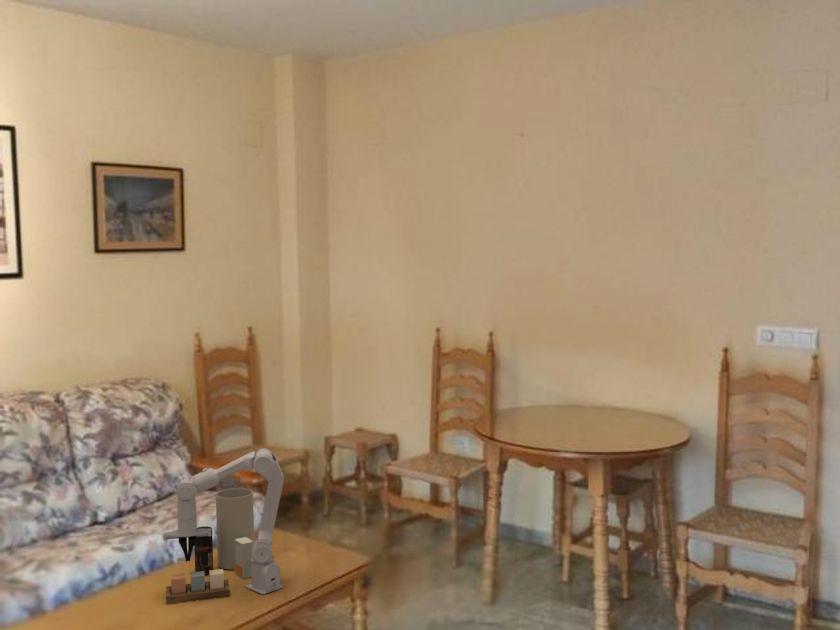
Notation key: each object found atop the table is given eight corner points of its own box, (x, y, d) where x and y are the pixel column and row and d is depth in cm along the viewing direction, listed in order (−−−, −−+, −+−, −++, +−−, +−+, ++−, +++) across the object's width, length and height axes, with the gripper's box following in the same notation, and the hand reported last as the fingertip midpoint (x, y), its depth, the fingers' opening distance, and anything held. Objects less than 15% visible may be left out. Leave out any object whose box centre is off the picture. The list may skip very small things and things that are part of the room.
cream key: (224, 587, 259) (223, 573, 258) (210, 589, 258) (209, 575, 257) (223, 583, 263) (222, 568, 262) (209, 584, 262) (209, 570, 261)
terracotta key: (185, 592, 256) (185, 577, 255) (171, 594, 254) (171, 579, 254) (185, 587, 260) (185, 573, 259) (171, 589, 258) (171, 574, 258)
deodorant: (208, 576, 274) (207, 532, 273) (191, 575, 275) (190, 531, 274) (216, 570, 280) (215, 526, 279) (200, 569, 281) (198, 525, 280)
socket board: (229, 596, 257) (229, 589, 257) (166, 604, 252) (166, 597, 252) (228, 586, 266) (228, 579, 266) (166, 593, 260) (166, 586, 260)
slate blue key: (205, 590, 257) (204, 575, 257) (191, 591, 256) (190, 577, 256) (204, 585, 261) (204, 570, 261) (190, 586, 260) (190, 572, 260)
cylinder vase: (262, 561, 287) (260, 491, 286) (236, 573, 277) (234, 500, 275) (236, 555, 294) (234, 486, 292) (209, 566, 283) (208, 494, 282)
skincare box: (235, 574, 276) (234, 539, 275) (246, 571, 279) (245, 536, 278) (242, 579, 271) (242, 543, 270) (254, 576, 274) (254, 541, 273)
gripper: (210, 512, 265) (211, 553, 266) (163, 516, 261) (164, 558, 262) (211, 518, 258) (211, 561, 259) (162, 522, 254) (163, 565, 255)
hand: (188, 560), depth 260 cm, fingers closed
